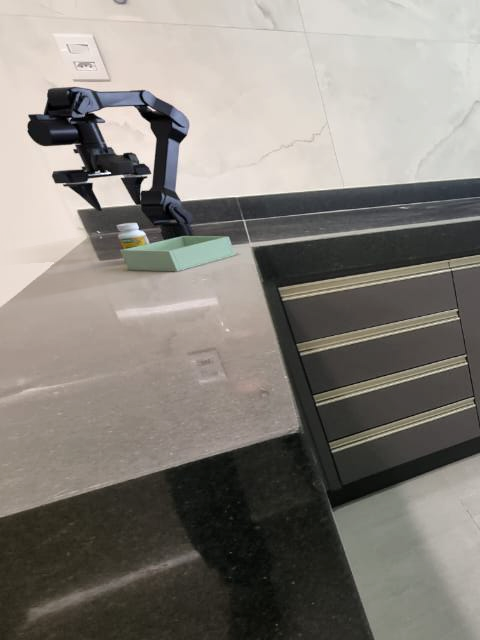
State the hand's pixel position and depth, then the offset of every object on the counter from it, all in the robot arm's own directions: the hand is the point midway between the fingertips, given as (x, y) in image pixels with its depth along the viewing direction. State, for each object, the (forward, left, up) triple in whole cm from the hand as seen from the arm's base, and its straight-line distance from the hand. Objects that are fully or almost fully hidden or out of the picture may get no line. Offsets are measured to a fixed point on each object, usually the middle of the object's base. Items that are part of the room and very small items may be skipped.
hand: (119, 207), depth 138 cm
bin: (+4, +20, -13) cm, 24 cm away
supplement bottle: (+4, +6, -13) cm, 15 cm away
